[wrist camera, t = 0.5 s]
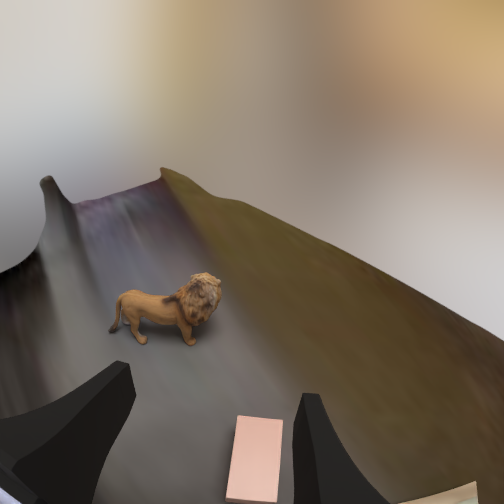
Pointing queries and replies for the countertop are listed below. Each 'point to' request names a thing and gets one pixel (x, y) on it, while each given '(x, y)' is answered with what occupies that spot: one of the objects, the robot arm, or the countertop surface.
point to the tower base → (451, 496)
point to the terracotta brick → (255, 461)
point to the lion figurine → (171, 307)
